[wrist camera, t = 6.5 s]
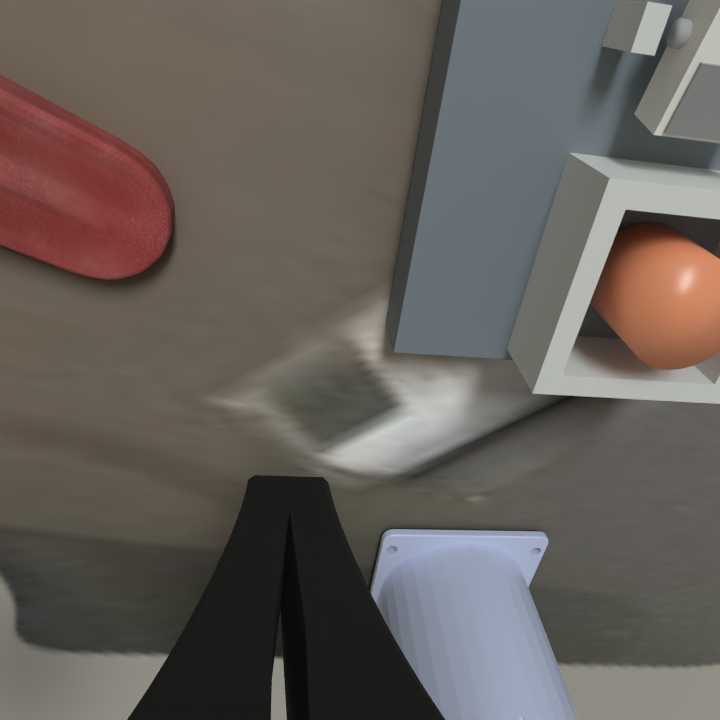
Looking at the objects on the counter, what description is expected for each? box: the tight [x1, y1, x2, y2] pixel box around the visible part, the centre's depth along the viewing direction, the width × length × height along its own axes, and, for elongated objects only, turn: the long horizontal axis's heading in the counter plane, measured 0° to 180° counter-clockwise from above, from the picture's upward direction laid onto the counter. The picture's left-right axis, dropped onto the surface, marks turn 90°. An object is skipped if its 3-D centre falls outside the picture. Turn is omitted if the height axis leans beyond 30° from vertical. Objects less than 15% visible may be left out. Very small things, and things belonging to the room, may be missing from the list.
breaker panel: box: [386, 0, 720, 404], centre depth 16 cm, size 12×11×4 cm
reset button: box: [590, 223, 720, 370], centre depth 17 cm, size 3×3×3 cm
